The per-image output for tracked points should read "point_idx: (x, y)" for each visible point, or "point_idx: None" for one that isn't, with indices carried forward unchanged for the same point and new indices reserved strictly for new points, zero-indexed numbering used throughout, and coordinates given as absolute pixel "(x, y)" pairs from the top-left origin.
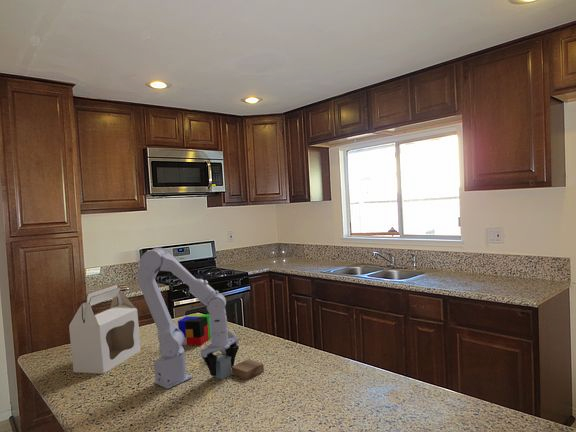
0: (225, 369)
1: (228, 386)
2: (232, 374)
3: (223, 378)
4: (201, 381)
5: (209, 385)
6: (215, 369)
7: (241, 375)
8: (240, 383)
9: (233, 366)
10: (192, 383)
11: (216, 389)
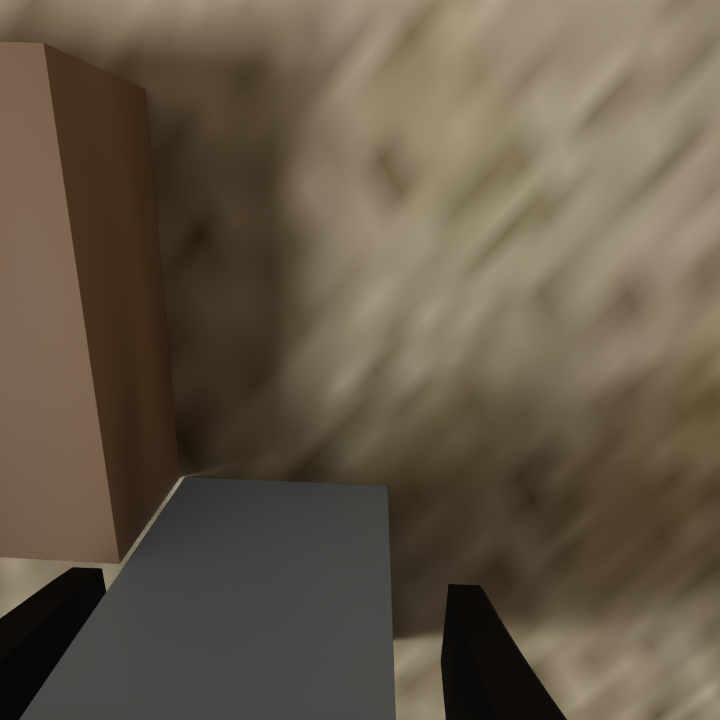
0: (275, 570)
1: (514, 202)
2: (179, 470)
3: (349, 485)
4: (568, 657)
5: (619, 493)
6: (494, 677)
7: (140, 254)
8: (315, 91)
9: (87, 540)
10: (662, 702)
11: (688, 301)
